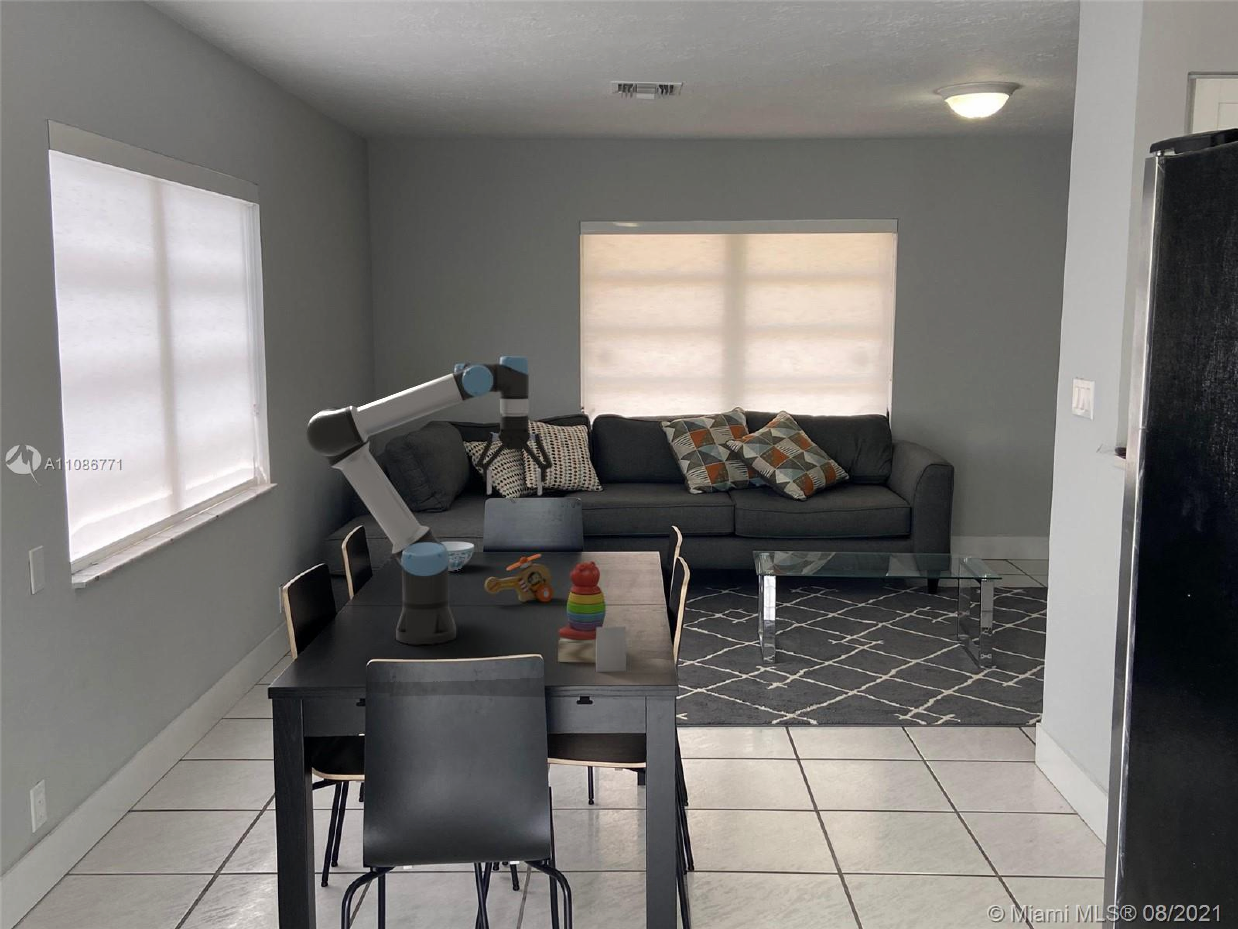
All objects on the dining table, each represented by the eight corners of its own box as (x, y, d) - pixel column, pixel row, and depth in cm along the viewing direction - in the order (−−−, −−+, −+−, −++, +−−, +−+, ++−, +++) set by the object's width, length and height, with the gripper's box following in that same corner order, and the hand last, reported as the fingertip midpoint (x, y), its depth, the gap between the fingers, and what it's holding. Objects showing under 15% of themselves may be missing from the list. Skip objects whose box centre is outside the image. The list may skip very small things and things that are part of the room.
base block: (558, 661, 258) (558, 641, 257) (563, 647, 270) (563, 627, 269) (608, 663, 257) (608, 642, 256) (611, 648, 269) (612, 628, 268)
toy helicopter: (556, 600, 317) (556, 554, 315) (491, 609, 306) (491, 561, 304) (543, 595, 324) (543, 549, 322) (479, 603, 313) (479, 556, 311)
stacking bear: (582, 626, 270) (582, 556, 268) (614, 633, 264) (615, 561, 262) (554, 636, 261) (554, 563, 259) (588, 643, 255) (588, 569, 253)
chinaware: (473, 573, 352) (472, 550, 351) (426, 574, 351) (425, 550, 350) (475, 563, 367) (475, 541, 366) (430, 564, 365) (430, 541, 365)
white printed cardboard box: (626, 671, 251) (626, 629, 250) (596, 672, 250) (597, 629, 249) (624, 666, 255) (624, 624, 253) (595, 667, 254) (595, 625, 253)
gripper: (562, 414, 291) (562, 492, 293) (470, 413, 292) (471, 491, 295) (559, 416, 283) (559, 496, 286) (465, 415, 285) (465, 495, 287)
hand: (514, 494), depth 290 cm, fingers open, 13 cm apart
